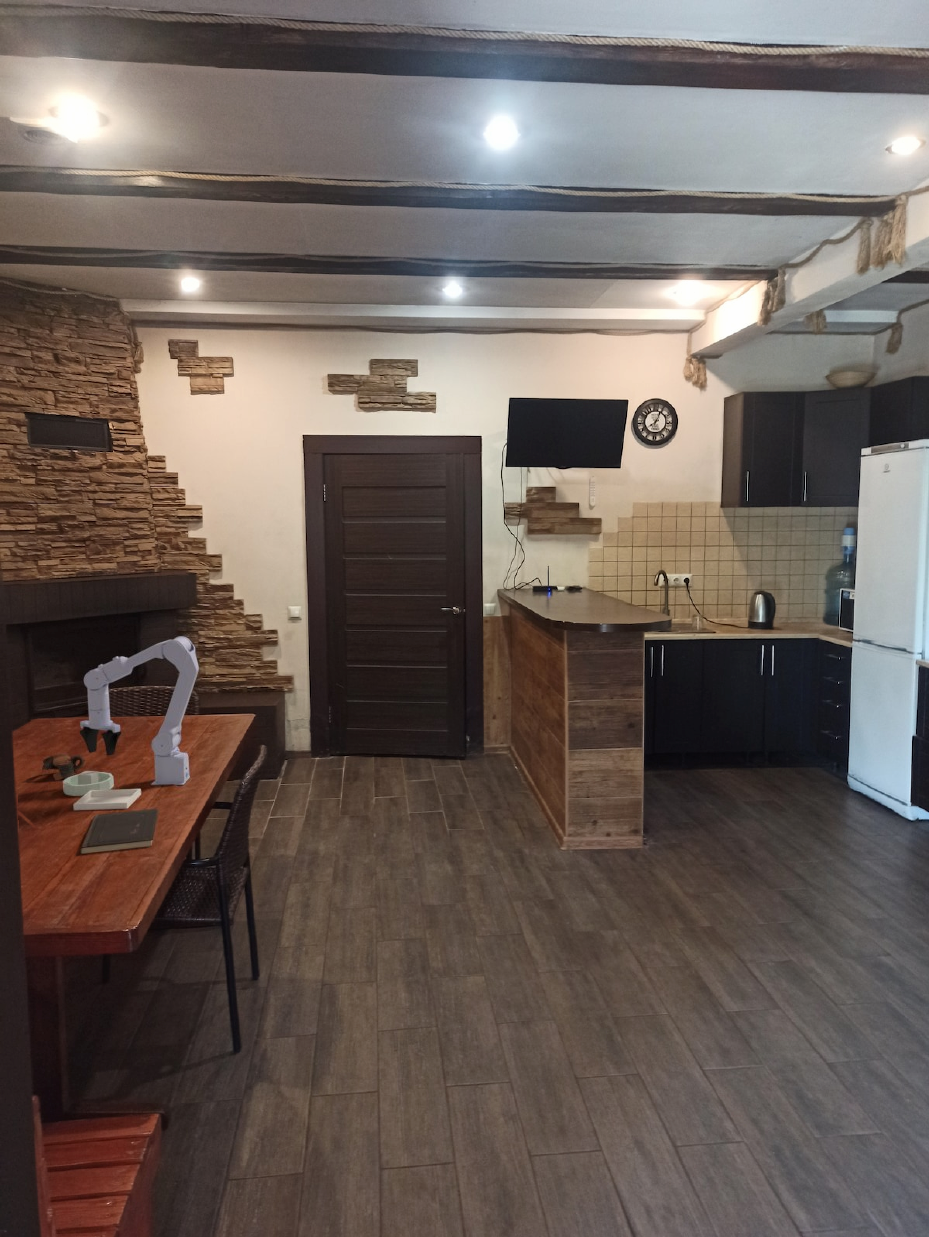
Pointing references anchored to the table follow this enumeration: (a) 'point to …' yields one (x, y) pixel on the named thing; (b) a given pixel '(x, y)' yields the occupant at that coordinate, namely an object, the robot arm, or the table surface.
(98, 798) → the tray
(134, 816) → the hardcover book
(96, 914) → the table surface
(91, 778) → the block
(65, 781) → the bowl
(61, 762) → the pottery mug
